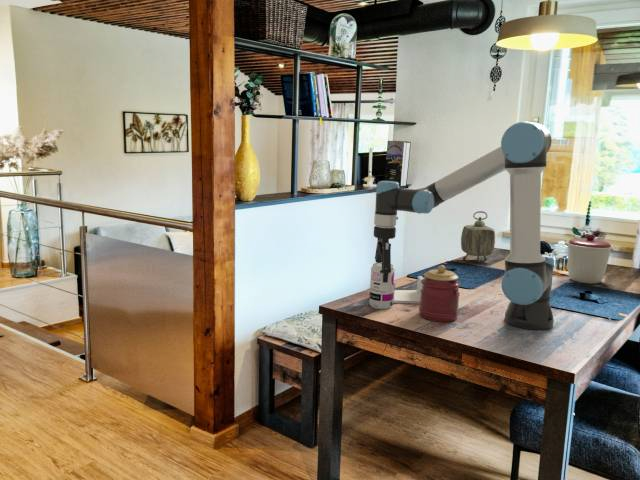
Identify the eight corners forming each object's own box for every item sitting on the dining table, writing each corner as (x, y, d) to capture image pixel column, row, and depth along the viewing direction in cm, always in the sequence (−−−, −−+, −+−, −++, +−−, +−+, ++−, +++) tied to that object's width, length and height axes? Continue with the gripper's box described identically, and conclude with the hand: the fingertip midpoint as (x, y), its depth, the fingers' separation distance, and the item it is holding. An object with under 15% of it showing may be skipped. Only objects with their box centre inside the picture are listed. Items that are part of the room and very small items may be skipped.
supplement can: (391, 303, 200) (394, 263, 198) (392, 310, 192) (395, 268, 190) (369, 302, 201) (371, 261, 198) (369, 309, 193) (371, 267, 190)
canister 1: (429, 323, 180) (433, 270, 177) (412, 311, 192) (415, 261, 189) (465, 321, 183) (469, 269, 180) (446, 309, 196) (450, 260, 192)
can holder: (428, 303, 201) (429, 285, 200) (390, 303, 201) (391, 284, 200) (420, 292, 215) (421, 275, 214) (384, 292, 215) (385, 274, 213)
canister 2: (568, 284, 235) (574, 235, 231) (558, 274, 253) (563, 228, 249) (614, 288, 232) (620, 238, 228) (600, 277, 250) (606, 231, 246)
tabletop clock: (487, 259, 279) (492, 210, 274) (494, 264, 270) (499, 213, 265) (459, 259, 278) (463, 209, 273) (465, 263, 269) (469, 212, 264)
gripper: (402, 233, 179) (397, 296, 183) (389, 220, 204) (386, 276, 208) (379, 232, 179) (375, 295, 183) (369, 219, 203) (366, 276, 208)
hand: (381, 285), depth 195 cm, fingers open, 13 cm apart
